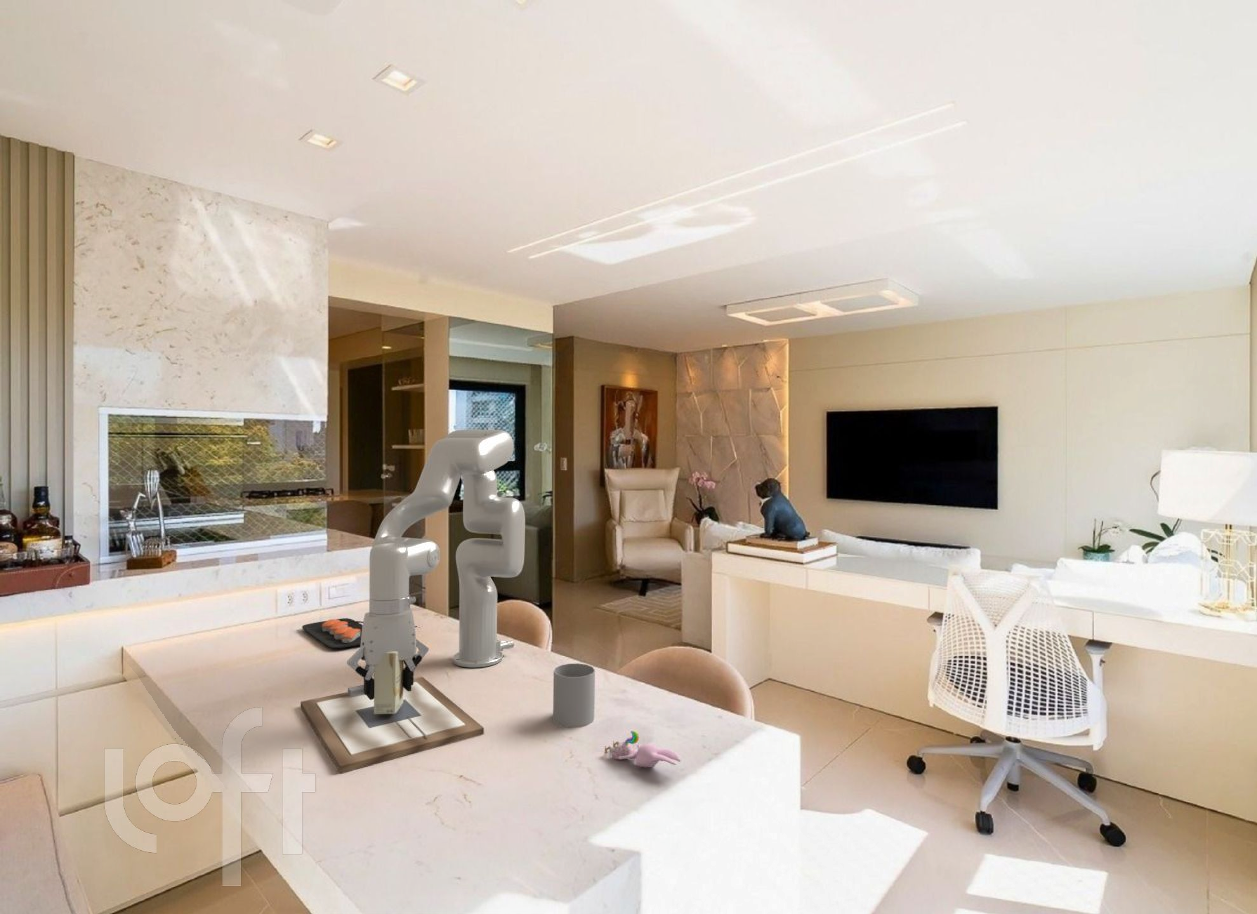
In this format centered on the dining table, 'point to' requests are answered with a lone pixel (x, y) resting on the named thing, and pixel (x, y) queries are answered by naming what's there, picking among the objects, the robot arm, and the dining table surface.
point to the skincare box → (388, 684)
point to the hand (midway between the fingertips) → (388, 692)
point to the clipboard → (386, 725)
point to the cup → (574, 695)
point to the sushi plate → (336, 632)
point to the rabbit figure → (641, 752)
